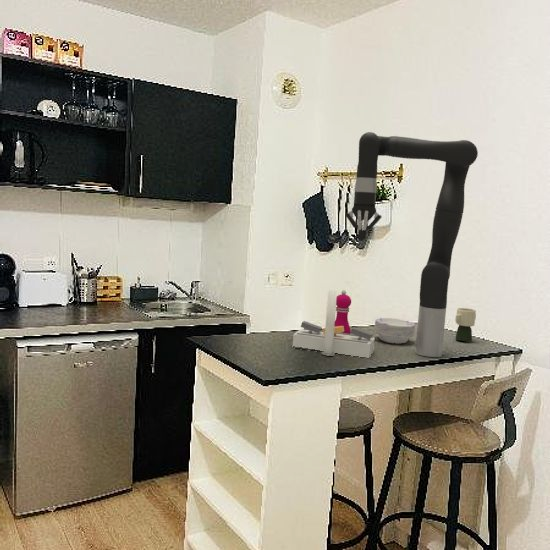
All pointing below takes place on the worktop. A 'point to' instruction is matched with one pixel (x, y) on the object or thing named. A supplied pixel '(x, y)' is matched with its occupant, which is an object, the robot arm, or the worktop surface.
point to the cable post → (330, 323)
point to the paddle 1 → (311, 327)
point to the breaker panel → (335, 343)
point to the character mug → (465, 323)
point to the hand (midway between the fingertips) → (361, 240)
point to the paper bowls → (394, 330)
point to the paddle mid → (336, 329)
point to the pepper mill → (343, 311)
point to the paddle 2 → (361, 333)
